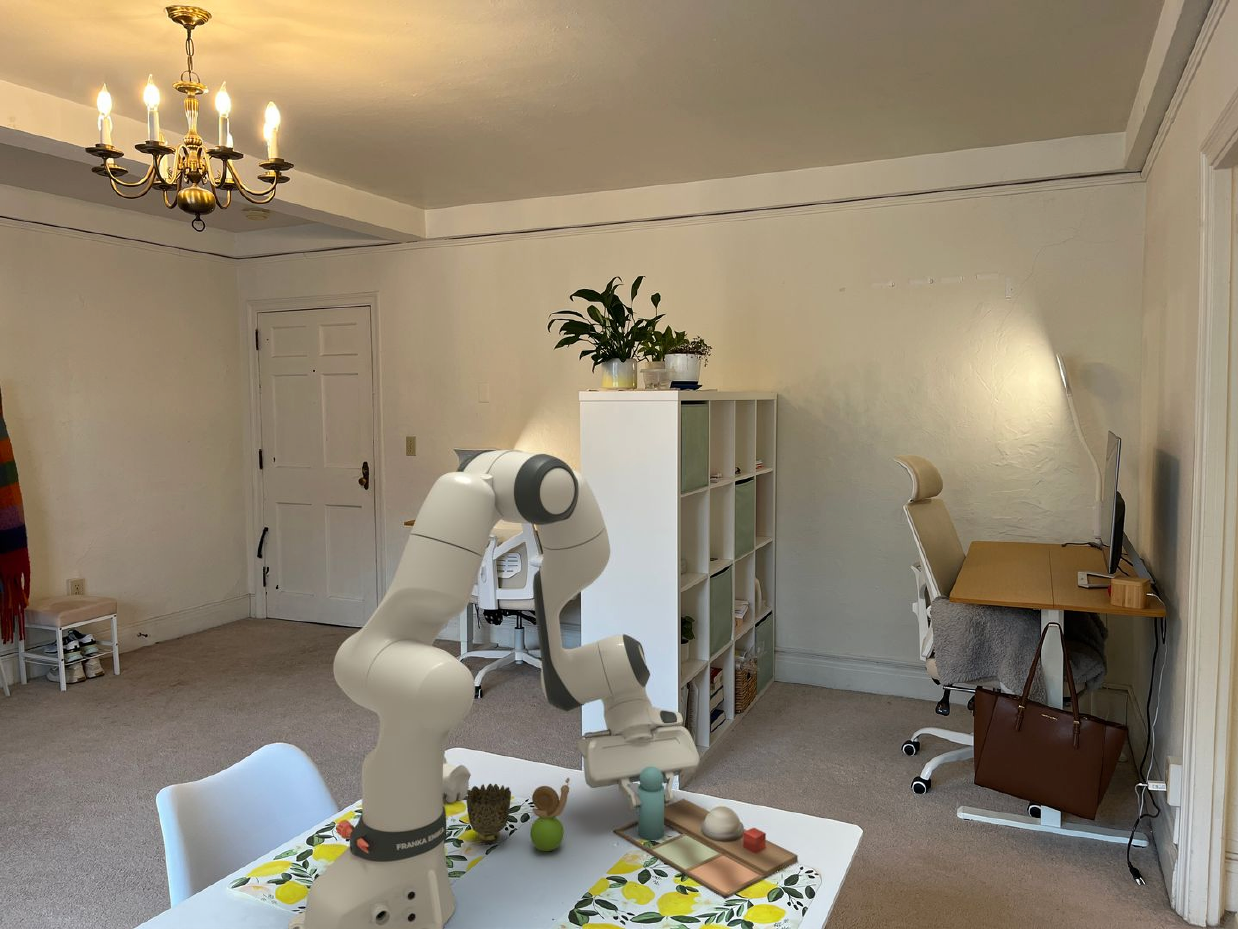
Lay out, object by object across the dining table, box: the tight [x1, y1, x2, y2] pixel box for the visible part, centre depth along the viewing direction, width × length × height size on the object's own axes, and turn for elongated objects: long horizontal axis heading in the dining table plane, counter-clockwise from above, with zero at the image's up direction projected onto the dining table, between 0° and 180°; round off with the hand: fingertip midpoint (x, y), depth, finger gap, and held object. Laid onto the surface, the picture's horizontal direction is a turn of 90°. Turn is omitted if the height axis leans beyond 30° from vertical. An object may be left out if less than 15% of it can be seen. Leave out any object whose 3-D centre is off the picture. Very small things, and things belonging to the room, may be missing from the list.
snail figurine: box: [529, 777, 570, 852], centre depth 140 cm, size 5×6×12 cm
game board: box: [612, 798, 799, 899], centre depth 141 cm, size 16×26×6 cm, turn 40°
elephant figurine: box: [443, 756, 472, 804], centre depth 158 cm, size 8×10×7 cm
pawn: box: [637, 766, 665, 841], centre depth 145 cm, size 4×4×12 cm
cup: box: [465, 783, 512, 844], centre depth 143 cm, size 8×7×8 cm
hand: (652, 804), depth 144 cm, fingers closed on pawn, 4 cm apart
